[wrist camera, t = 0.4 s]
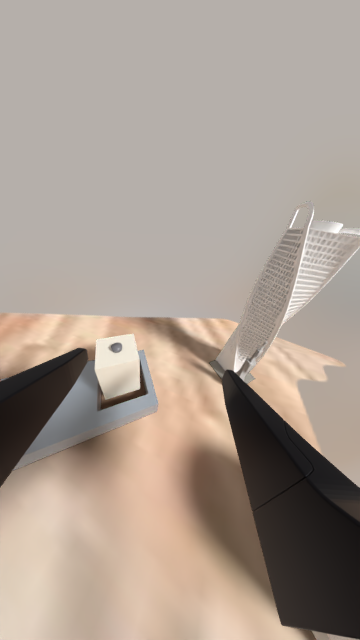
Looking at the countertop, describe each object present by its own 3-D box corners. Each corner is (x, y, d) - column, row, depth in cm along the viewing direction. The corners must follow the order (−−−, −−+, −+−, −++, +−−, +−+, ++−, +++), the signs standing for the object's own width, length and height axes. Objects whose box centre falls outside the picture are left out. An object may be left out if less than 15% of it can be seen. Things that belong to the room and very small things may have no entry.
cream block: (135, 363, 23) (133, 331, 18) (140, 388, 20) (139, 356, 15) (105, 370, 21) (95, 336, 17) (105, 399, 18) (93, 366, 13)
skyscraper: (204, 358, 30) (277, 192, 14) (229, 349, 34) (309, 209, 18) (231, 393, 25) (403, 187, 9) (257, 377, 29) (410, 213, 12)
